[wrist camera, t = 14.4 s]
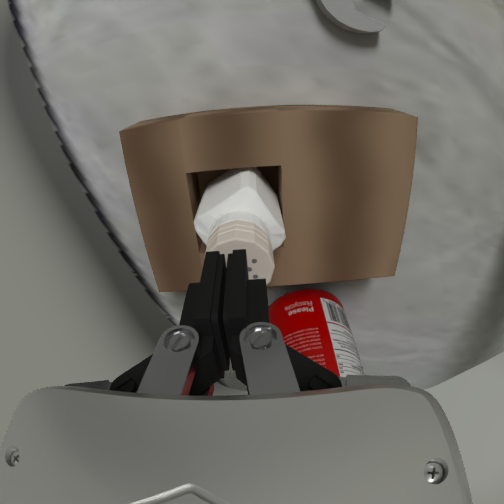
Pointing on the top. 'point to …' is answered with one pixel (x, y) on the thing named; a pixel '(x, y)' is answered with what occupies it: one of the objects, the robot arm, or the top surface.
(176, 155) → the socket block
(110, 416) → the robot arm
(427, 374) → the top surface
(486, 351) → the top surface
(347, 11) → the adjustable wrench
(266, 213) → the pepper shaker
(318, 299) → the soda can
